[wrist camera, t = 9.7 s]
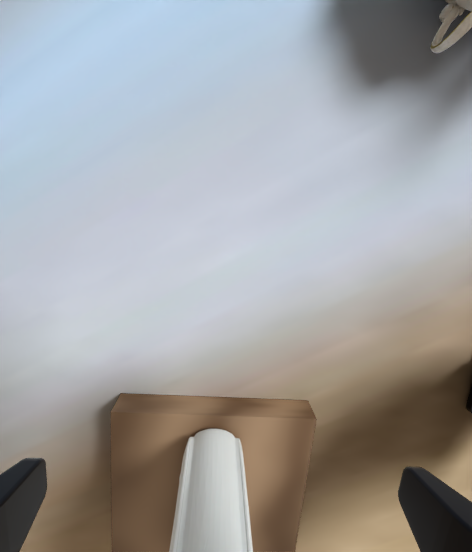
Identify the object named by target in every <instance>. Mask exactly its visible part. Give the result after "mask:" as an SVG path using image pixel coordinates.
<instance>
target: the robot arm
mask: <svg viewBox="0 0 472 552" xmlns="http://www.w3.org/2000/svg"><path fill="white" fill-rule="evenodd" d="M466 408H467V410H468V411H470V412H471V413H472V388H471V391H470V395H469V398H468V402H467V405H466ZM46 490H47V477H46V463H45V460H44V459H42V458H25V459H23V460H21V461H20V462H18V463H17V464H15V465H14V466H12V467H11V468H9V469H8V470H7V471H5V472H4V473H2V474H1V475H0V552H19V551H20V549H21V547H22V545H23V543H24V541H25V538H26V536H27V534H28V532H29V530H30V528H31V525H32V523H33V521H34V519H35V517H36V515H37V512H38V510H39V508H40V506H41V504H42V502H43V499H44V497H45V494H46ZM398 497H399V501H400V504H401V507H402V509H403V511H404V514H405V516H406V518H407V521H408V523H409V525H410V528H411V530H412V533H413V535H414V537H415V540H416V542H417V544H418V547H419V549H420V551H421V552H472V502H471V501H469V500H468V499H466V498H465V497H464V496H462V495H461V494H459V493H458V492H456V491H455V490H454V489H452V488H451V487H449V486H448V485H447V484H445V483H444V482H442V481H441V480H439V479H438V478H437V477H435V476H434V475H432V474H431V473H430V472H428V471H427V470H425V469H424V468H422V467H406V468H405V469H404V470H403V474H402V478H401V482H400V486H399V490H398Z"/></svg>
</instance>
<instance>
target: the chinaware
mask: <svg viewBox="0 0 472 552" xmlns="http://www.w3.org/2000/svg"><path fill="white" fill-rule="evenodd" d="M445 1H446V2H447V3H448V5H446V6H445V8H444V9H443V10H442V11H441V13H440V15H439V18H440V19H441V22H443V23H442V25H441V26H440V28H439V30H438V31H437V33H436V35H435V37H434V39H433V41H432V43H431V46H430V49H431V51H432V52H434V53H441V52H443V51H444V50H446V49H448V48H449V47H450V46H452V45H453V44H454V43H456V42H457V41H458V40H459V39H460V38H461V37H462V36H464V35H465V34H466V33H467V32H468V31H469V30H470V29H471V28H472V0H445ZM465 9H467V10H469V11H471V12H470V13H469V14H468V15H467V16H466V17H465V18H464V19H463V20H462V21H461V23H460V24H459V25H458V26H457V27H456V28H455V29H454V30H453V31H452V32H451V33H450V34H449V35H448V36H447V37H446V38H445V39H444V40H443V41H442V42H441V40H442V38H443V36H444V35H445V33H446V31H447V29H448V27H449V26H450V24H451V22H452V21H453V20H454V19H455V18H456V17H457V16H458V14H459V15H460V16H461V15H462V14H463V12H464V10H465ZM440 42H441V43H440Z"/></svg>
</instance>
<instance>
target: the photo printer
mask: <svg viewBox="0 0 472 552" xmlns="http://www.w3.org/2000/svg"><path fill="white" fill-rule="evenodd" d="M169 552H253V547H252V537H251V526H250V516H249V506H248V496H247V486H246V477H245V468H244V458H243V451H242V446H241V442H240V439H239V438H235V437H234V435H233V434H232V433H230V432H228V431H226V430H222V429H206V430H203V431H200V432H198V433H196V434H195V436H194V437H189V439H188V442H187V445H186V448H185V452H184V455H183V460H182V467H181V473H180V477H179V488H178V495H177V502H176V510H175V517H174V523H173V530H172V536H171V543H170V550H169Z"/></svg>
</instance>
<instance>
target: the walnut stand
mask: <svg viewBox="0 0 472 552" xmlns="http://www.w3.org/2000/svg"><path fill="white" fill-rule="evenodd" d="M315 426H316V417H315V415H314V412H313V410H312V408H311V406H310V404H309V402H308V401H306V400H281V399H255V398H229V397H203V396H177V395H151V394H125V393H121V394H120V396H119V398H118V399H117V401H116V403H115V405H114V407H113V408H112V410H111V516H112V552H169V550H170V543H171V536H172V530H173V523H174V517H175V510H176V502H177V495H178V488H179V477H180V473H181V467H182V460H183V455H184V452H185V448H186V445H187V442H188V439H189V437H194V436H195V434H196V433H198V432H200V431H203V430H206V429H222V430H226V431H228V432H230V433H232V434H233V435H234V437H235V438H239V439H240V442H241V446H242V451H243V458H244V468H245V477H246V486H247V496H248V506H249V516H250V526H251V537H252V547H253V552H295V548H296V542H297V536H298V530H299V524H300V518H301V512H302V505H303V499H304V493H305V487H306V481H307V475H308V469H309V462H310V456H311V450H312V444H313V438H314V432H315Z"/></svg>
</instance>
